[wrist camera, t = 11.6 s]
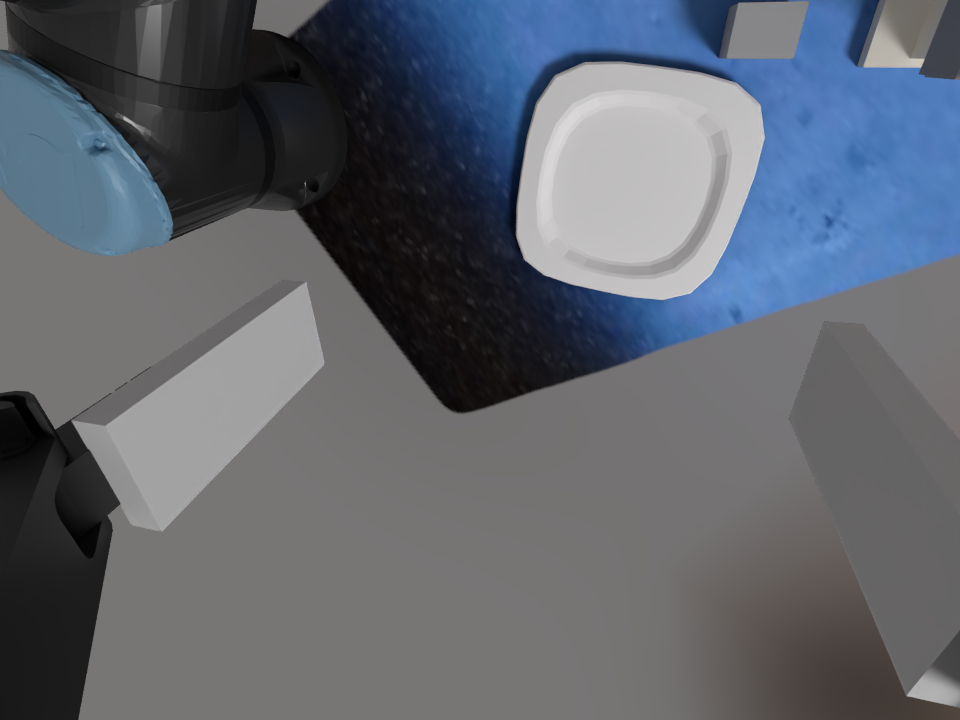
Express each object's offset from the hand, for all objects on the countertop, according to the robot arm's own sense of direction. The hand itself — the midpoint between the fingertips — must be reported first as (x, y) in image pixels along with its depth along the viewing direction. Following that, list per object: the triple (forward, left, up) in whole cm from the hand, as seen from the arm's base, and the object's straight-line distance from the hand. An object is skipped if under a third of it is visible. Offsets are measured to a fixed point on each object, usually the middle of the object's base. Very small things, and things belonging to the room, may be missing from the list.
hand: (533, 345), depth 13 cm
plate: (+2, -3, -35) cm, 35 cm away
